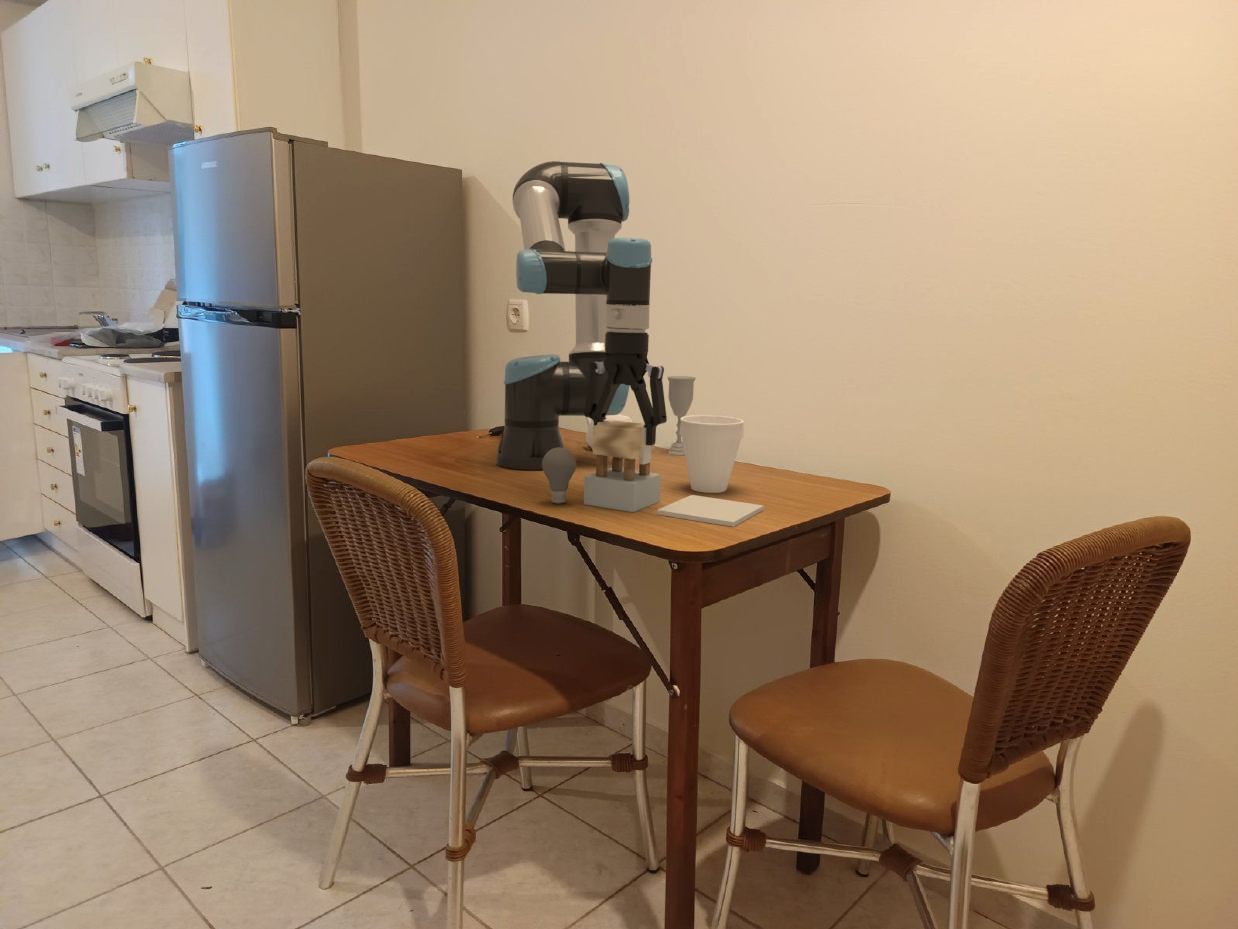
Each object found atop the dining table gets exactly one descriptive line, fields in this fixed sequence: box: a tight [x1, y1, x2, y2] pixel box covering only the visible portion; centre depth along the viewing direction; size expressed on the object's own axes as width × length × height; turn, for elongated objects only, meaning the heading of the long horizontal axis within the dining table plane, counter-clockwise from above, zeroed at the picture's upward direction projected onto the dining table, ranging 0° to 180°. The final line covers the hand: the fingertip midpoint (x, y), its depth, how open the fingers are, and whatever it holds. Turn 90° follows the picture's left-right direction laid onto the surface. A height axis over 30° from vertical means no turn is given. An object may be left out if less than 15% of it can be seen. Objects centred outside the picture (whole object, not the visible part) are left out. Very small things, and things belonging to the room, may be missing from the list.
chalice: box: [666, 375, 697, 456], centre depth 206 cm, size 7×7×18 cm
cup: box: [679, 414, 745, 494], centre depth 168 cm, size 12×12×14 cm
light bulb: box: [542, 447, 577, 505], centre depth 154 cm, size 6×6×10 cm
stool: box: [592, 421, 655, 481], centre depth 154 cm, size 8×8×9 cm
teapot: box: [585, 413, 633, 450], centre depth 210 cm, size 20×12×10 cm, turn 43°
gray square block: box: [583, 467, 662, 513], centre depth 156 cm, size 10×10×5 cm
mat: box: [656, 494, 765, 528], centre depth 151 cm, size 14×14×1 cm
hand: (623, 460), depth 155 cm, fingers closed on stool, 8 cm apart
